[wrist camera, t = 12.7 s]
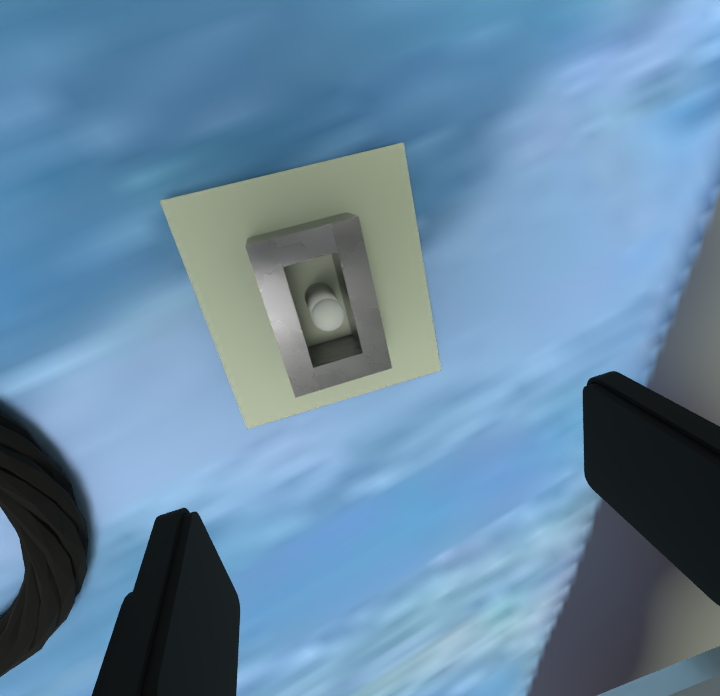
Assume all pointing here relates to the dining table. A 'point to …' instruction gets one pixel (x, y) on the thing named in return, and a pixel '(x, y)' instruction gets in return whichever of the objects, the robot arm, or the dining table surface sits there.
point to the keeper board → (306, 274)
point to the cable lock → (38, 543)
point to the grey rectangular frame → (348, 250)
